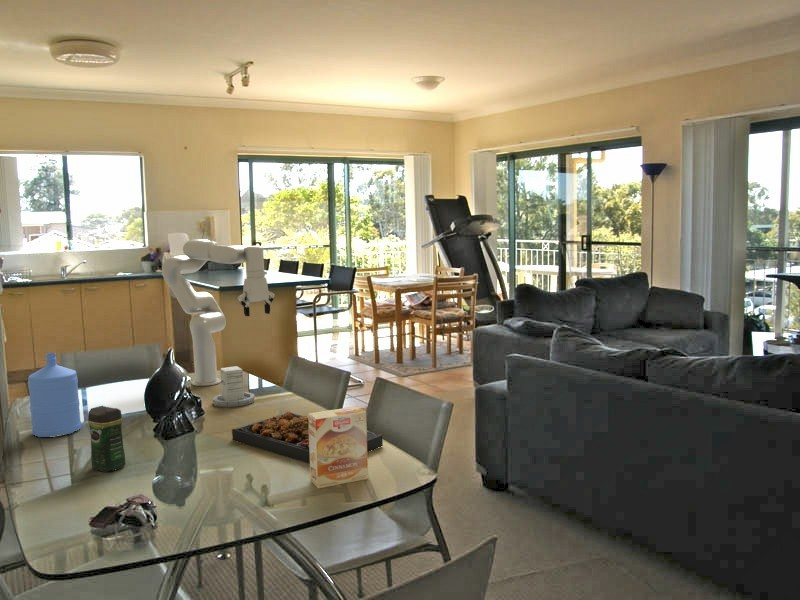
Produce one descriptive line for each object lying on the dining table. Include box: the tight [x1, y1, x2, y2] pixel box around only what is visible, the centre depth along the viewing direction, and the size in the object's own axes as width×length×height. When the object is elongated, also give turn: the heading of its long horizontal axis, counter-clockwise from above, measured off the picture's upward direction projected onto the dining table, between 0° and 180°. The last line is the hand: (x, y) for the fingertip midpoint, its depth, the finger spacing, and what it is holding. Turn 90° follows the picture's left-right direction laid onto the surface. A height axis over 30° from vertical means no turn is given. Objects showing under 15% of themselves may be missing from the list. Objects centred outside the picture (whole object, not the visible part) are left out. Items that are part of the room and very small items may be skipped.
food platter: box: [231, 411, 384, 465], centre depth 230 cm, size 45×25×10 cm, turn 50°
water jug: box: [27, 352, 82, 438], centre depth 249 cm, size 16×16×28 cm
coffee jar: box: [87, 405, 126, 472], centre depth 211 cm, size 10×8×19 cm
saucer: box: [212, 391, 255, 409], centre depth 285 cm, size 16×16×2 cm
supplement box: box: [219, 365, 245, 401], centre depth 284 cm, size 7×7×13 cm
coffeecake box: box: [307, 405, 369, 489], centre depth 196 cm, size 15×7×20 cm, turn 115°
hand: (257, 314), depth 302 cm, fingers open, 9 cm apart
